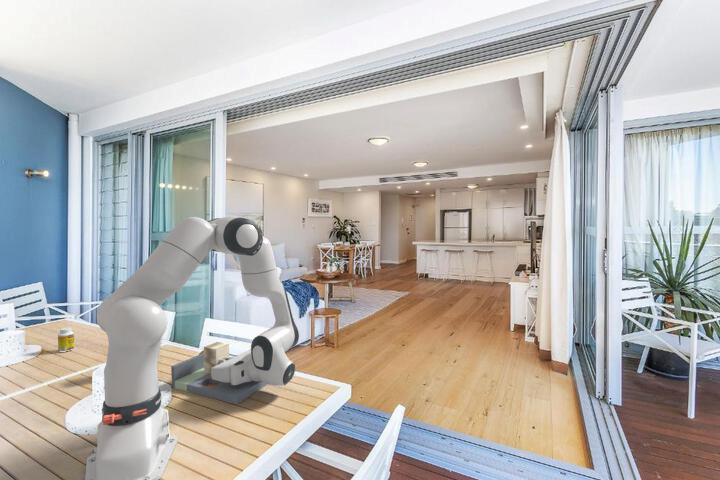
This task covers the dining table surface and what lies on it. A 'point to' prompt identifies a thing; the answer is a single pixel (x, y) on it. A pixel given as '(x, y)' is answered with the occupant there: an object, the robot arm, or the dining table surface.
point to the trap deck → (213, 383)
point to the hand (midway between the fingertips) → (222, 360)
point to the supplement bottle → (65, 339)
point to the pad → (188, 379)
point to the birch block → (214, 355)
